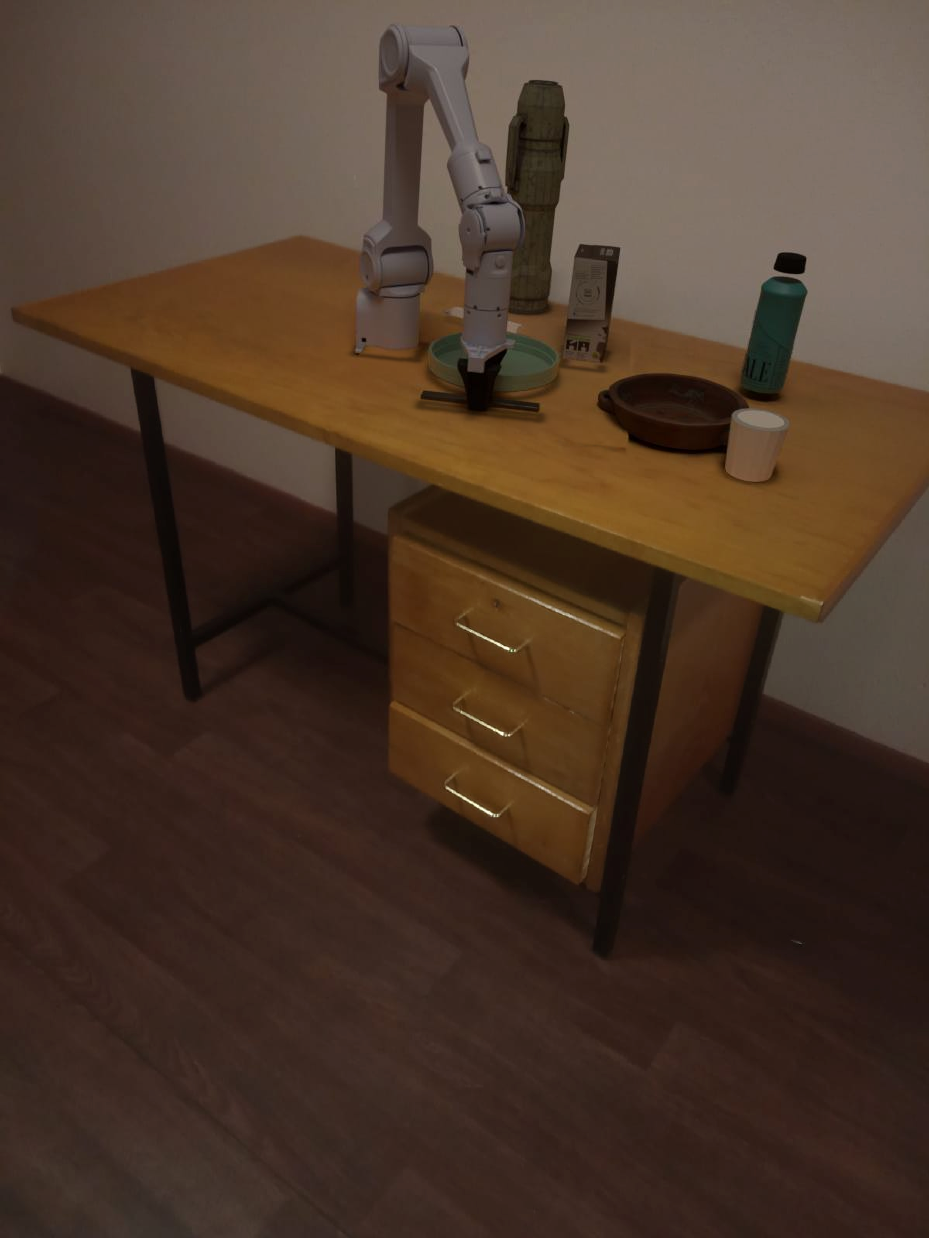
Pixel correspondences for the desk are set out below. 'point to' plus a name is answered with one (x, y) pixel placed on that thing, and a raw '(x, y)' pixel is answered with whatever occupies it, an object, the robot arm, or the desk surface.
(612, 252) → the coffee box
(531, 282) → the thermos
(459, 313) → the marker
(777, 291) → the beverage bottle
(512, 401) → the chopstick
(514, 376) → the green round tray
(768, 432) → the white short cylinder
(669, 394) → the dish
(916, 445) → the desk surface
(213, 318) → the desk surface
